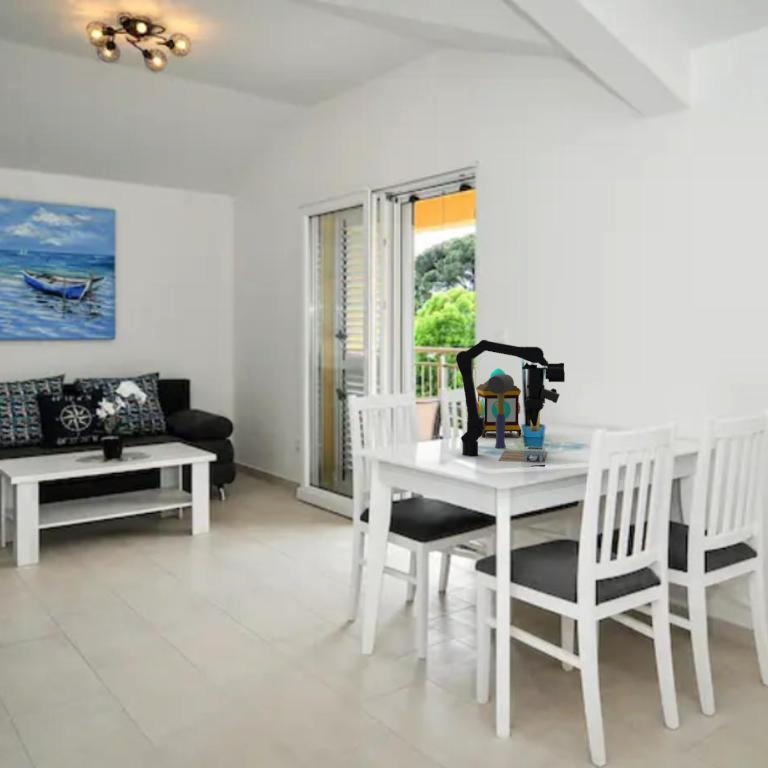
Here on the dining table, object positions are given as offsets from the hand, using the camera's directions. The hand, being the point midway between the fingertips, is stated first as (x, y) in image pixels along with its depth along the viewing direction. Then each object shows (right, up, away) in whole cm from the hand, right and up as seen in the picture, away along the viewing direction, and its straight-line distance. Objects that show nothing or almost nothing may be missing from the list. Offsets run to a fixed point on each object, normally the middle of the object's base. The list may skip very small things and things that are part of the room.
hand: (535, 425), depth 277 cm
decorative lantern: (-3, -8, +68) cm, 69 cm away
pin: (0, -2, 0) cm, 2 cm away
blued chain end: (-1, -12, -3) cm, 12 cm away
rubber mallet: (-9, -12, +22) cm, 27 cm away
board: (-4, -13, +2) cm, 13 cm away
